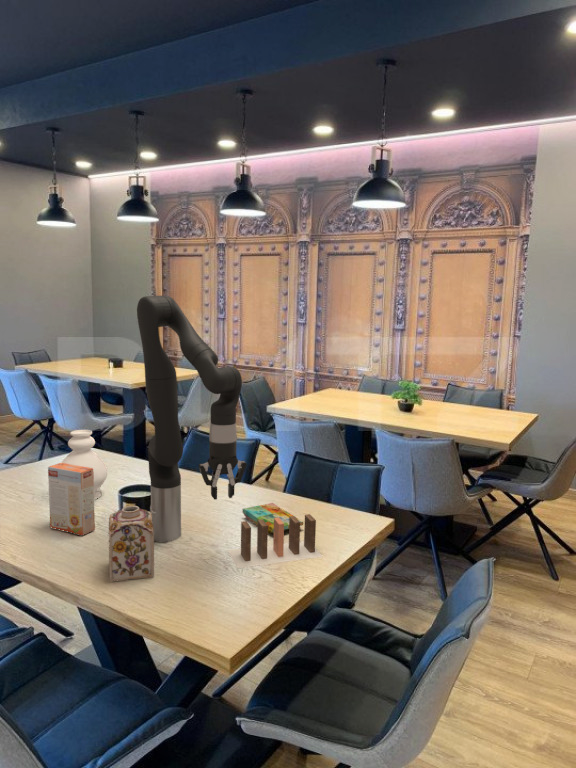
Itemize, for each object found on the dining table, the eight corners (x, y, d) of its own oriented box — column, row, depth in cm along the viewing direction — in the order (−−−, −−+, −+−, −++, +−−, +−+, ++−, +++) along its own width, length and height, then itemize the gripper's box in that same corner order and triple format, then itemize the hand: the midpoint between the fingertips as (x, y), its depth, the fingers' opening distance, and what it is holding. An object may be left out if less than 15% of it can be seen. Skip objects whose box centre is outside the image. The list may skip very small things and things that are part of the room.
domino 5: (309, 552, 168) (310, 520, 167) (303, 545, 173) (304, 514, 172) (314, 552, 169) (315, 520, 168) (308, 545, 174) (309, 514, 172)
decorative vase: (46, 500, 207) (44, 434, 203) (80, 486, 223) (78, 424, 220) (86, 508, 201) (84, 439, 197) (117, 493, 217) (116, 429, 213)
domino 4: (294, 554, 167) (295, 522, 165) (288, 547, 171) (289, 516, 170) (299, 554, 167) (300, 522, 166) (293, 547, 172) (294, 515, 170)
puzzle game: (271, 500, 201) (303, 519, 184) (271, 513, 201) (303, 532, 185) (242, 506, 194) (272, 526, 178) (242, 519, 195) (272, 540, 178)
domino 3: (278, 556, 165) (278, 524, 164) (273, 549, 170) (273, 518, 168) (283, 556, 166) (284, 523, 164) (278, 549, 170) (279, 517, 169)
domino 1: (245, 561, 162) (245, 528, 160) (240, 553, 166) (241, 521, 165) (250, 560, 162) (251, 527, 161) (246, 553, 167) (246, 521, 166)
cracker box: (96, 530, 182) (94, 467, 179) (82, 537, 176) (80, 472, 173) (63, 522, 188) (61, 461, 185) (49, 528, 182) (46, 466, 179)
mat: (237, 569, 158) (237, 568, 157) (227, 551, 169) (227, 550, 169) (323, 557, 166) (323, 556, 166) (308, 541, 177) (308, 540, 177)
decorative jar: (154, 578, 152) (153, 514, 149) (109, 583, 148) (107, 518, 146) (152, 558, 163) (151, 499, 160) (109, 563, 160) (108, 502, 157)
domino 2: (261, 559, 163) (262, 526, 162) (257, 551, 168) (257, 519, 167) (267, 558, 164) (267, 525, 163) (262, 551, 169) (262, 519, 167)
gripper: (244, 434, 163) (243, 491, 165) (195, 437, 158) (195, 495, 160) (251, 440, 156) (250, 500, 158) (200, 443, 151) (200, 504, 153)
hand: (222, 497), depth 159 cm, fingers open, 3 cm apart
